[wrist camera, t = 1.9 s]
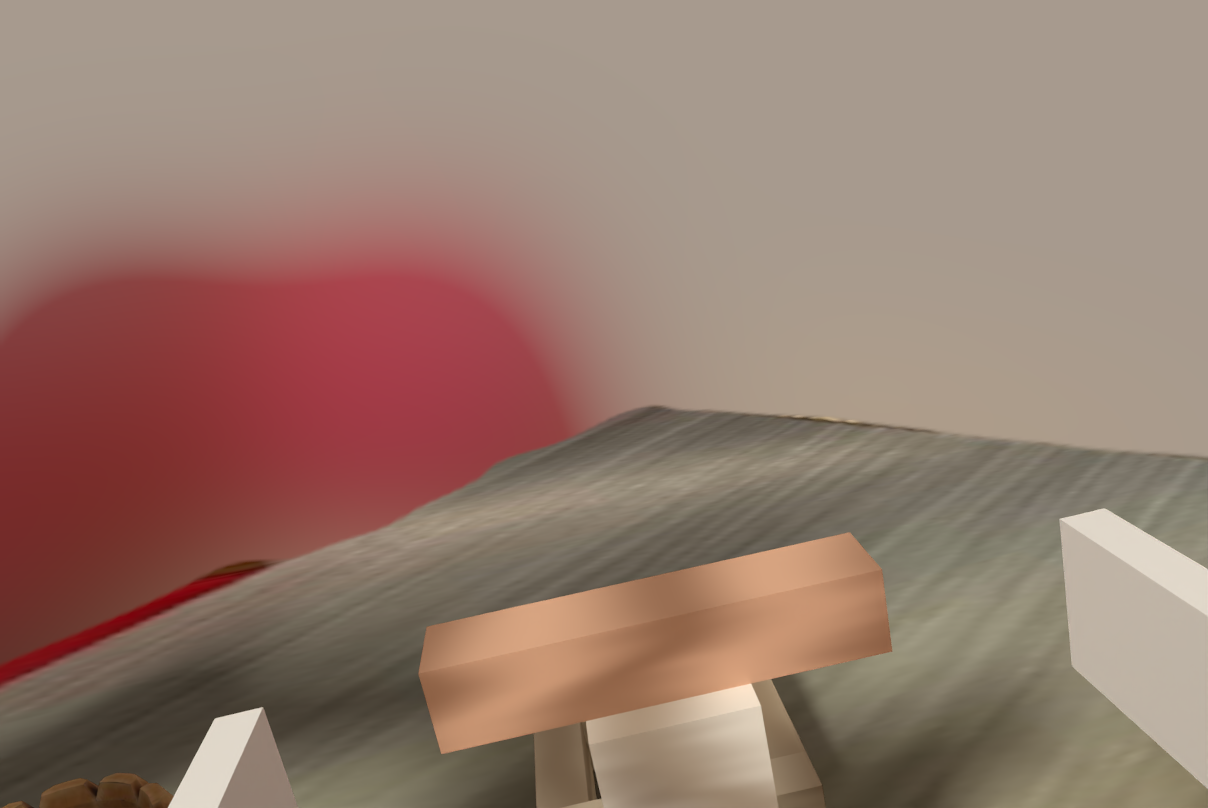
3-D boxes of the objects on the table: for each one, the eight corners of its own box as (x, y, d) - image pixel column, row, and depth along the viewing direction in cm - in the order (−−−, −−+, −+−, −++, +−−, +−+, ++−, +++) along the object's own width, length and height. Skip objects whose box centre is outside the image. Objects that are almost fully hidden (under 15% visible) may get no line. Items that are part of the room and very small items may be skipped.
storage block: (558, 928, 40) (537, 851, 39) (548, 752, 51) (532, 689, 50) (834, 863, 40) (822, 785, 39) (762, 703, 52) (752, 639, 51)
